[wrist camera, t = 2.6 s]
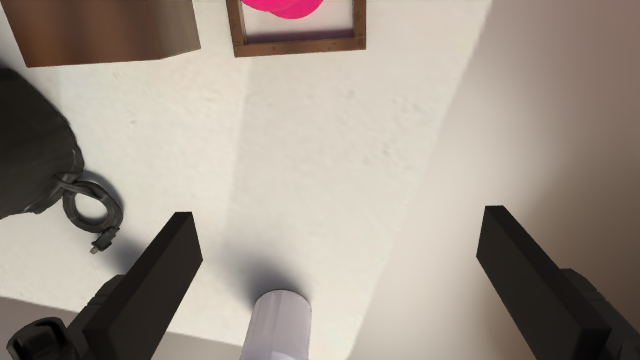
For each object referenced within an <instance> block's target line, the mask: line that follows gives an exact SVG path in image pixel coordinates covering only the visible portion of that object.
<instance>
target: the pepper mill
mask: <svg viewBox="0 0 640 360" xmlns="http://www.w3.org/2000/svg"><path fill="white" fill-rule="evenodd" d="M240 1H242V2H243V3H244V4H246V5H248V6H250V7H252V8H255V9H257V10H261V11H269V12H271V13H272V14H274V15H276V16H278V17H282V18H286V19H297V18H302V17H304V16H307V15H309V14H310V13H312V12H313V11H314V10H315V9H317V8H318V6H319V5H320V4H321V3H322V1H323V0H240Z"/></svg>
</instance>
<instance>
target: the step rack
mask: <svg viewBox="0 0 640 360" xmlns="http://www.w3.org/2000/svg"><path fill="white" fill-rule="evenodd" d="M0 2H1V4H2V7H3V9H4V12H5V14H6V17H7V19H8V22H9V24H10V27H11V29H12V32H13V34H14V37H15V39H16V42H17V44H18V47H19V49H20V52H21V54H22V57H23V59H24V62H25V64H26V67H28V68H30V67H46V66H63V65H79V64H95V63H112V62H128V61H145V60H160V59H164V58H167V57H171V56H175V55H179V54H182V53H186V52H190V51H194V50H198V49H201V47H200V42H199V37H198V32H197V27H196V21H195V16H194V11H193V6H192V1H191V0H0ZM226 4H227V11H228V17H229V23H230V30H231V36H232V42H233V45H234V46H233V49H234V56H235V58H236V57H253V56H269V55H286V54H302V53H319V52H335V51H352V50H366V0H353V25H354V37H349V38H333V39H317V40H301V41H286V42H270V43H254V44H247V40H246V33H245V26H244V19H243V12H242V5H241V1H240V0H226Z"/></svg>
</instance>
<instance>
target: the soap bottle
mask: <svg viewBox="0 0 640 360" xmlns="http://www.w3.org/2000/svg"><path fill="white" fill-rule="evenodd" d="M311 316H312V311H311V308H310V306H309V304H308V302H307V301H306V300H305V299H304V298H303V297H302V296H300V295H298V294H296V293H294V292H291V291H286V290H274V291H271V292H268V293H265V294H264V295H263V296H261V297H260V298H259V299H258V300H257V302H256V304H255V306H254V309H253V313H252V316H251V320H250V323H249V327H248V331H247V334H246V338H245V341H244V345H243V349H242V352H241V356H240V359H239V360H308V354H309V341H310V329H311Z"/></svg>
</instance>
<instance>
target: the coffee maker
mask: <svg viewBox="0 0 640 360" xmlns="http://www.w3.org/2000/svg"><path fill="white" fill-rule="evenodd" d="M83 167H84V163H83V160H82V158H81V152H80V150H79V149H78V148H76V143H75V139H74V137H73V135H72V134H71V133H70V131H69V126H68V125H67V124H66V122H65V121H64V120H62V118H61V117H60V116H59V115H58V113H57V112H55V111H54V110H53V109H52V107H51V106H50V105H49V104H48V103H47V102H46V101H45V100H43V99H42V97H41V96H40V95H39V94H38V93H37V92H36V91H35V90H34V89H33V88H32V87H31V86H30V85H28V84H27V82H26V81H24V80H23V79H22V78H21V77H20V76H19V75H18V74H17V73H16V72H14V71H12V70H10V69H5V68H0V220H1V219H3V218H5V217H7V216H9V215H14V214H21V213H27V212H30V213H32V212H33V213H35V214H40V213H41V212H44V211H45V210H46V209H47V208H49V207H50V206H52V205H53V204H54V203H56V202H57V201H58V200H59V199H61V197H62V196H63V198H62V200H63V208H64V211H65V213H66V215H67V218H69V219H70V221H71V222H72V223H73V224H74V225H75V226H77V227H78V228H80V229H82V230H85V231H88V232H91V233H101V232H102V235H101V236H100V237H99V238H98V239H97V240H96V241H94V242H92V243H91V244H92V245H93V246H94V247H93V248H92V249H91V250H90V252H91V253H92V254H95V253H96V252H97V251H98V250H99V251H104V250H105V249H106V248H108V247H109V246H110V245H111V244H112V242H111V240H112V239H113V238H114V237H115V236H116V235H115V233H116V232H117V231H119V229H120V228H119V226H120V224H121V222H122V220H123V213H122V210H121V208H120V206H119V204H118V203H117V202H116V201H115V199H114V198H113V197H112V196H111V195H110V194H109V193H108V192H107V191H106V190H105V189H104V188H103V187H101V186H100V185H98V184H96V183H94V182H89V181H77V178H78V177H79V175H80V174H81V173H82V172H83ZM77 193H81V194H84V195H87V196H90V197H92V198H95V199H97V200H99V201H101V202H102V203H103V204H104V205H105V207H106V208H107V211H108V217H107V220H106V221H105V222H104V223H103V224H101V225H93V224H90V223H88V222H86V221H84V220H82V219H81V218H80V217H79V216H78V215H77V213H76V211H75V206H74V198H75V195H76V194H77Z"/></svg>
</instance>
